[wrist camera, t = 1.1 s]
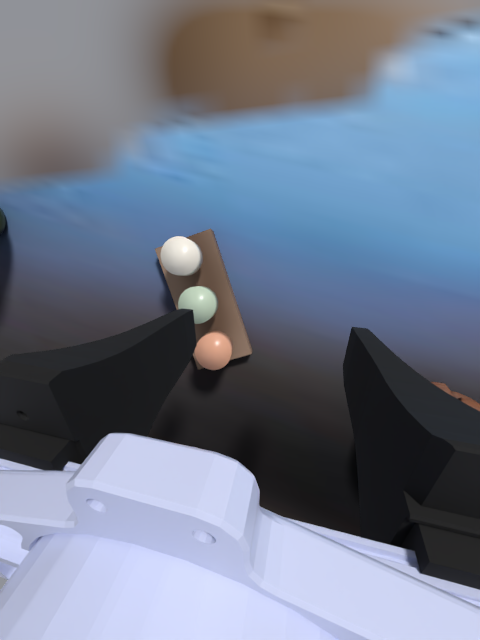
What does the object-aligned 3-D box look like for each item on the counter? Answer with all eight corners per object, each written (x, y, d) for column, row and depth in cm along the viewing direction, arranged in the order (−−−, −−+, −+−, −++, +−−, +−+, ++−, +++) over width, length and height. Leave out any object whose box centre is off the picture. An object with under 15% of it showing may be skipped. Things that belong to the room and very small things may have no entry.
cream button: (175, 280, 21) (168, 280, 20) (163, 246, 21) (155, 243, 20) (207, 269, 21) (203, 268, 20) (195, 234, 21) (190, 230, 19)
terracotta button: (205, 367, 22) (201, 374, 21) (194, 336, 22) (189, 340, 20) (237, 358, 22) (235, 364, 20) (226, 326, 22) (224, 329, 20)
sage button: (190, 324, 22) (185, 328, 20) (179, 292, 22) (172, 293, 20) (222, 314, 22) (219, 317, 20) (211, 281, 21) (207, 281, 20)
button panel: (201, 365, 25) (198, 369, 24) (160, 250, 24) (154, 248, 22) (252, 350, 24) (251, 353, 23) (213, 231, 23) (210, 228, 22)
